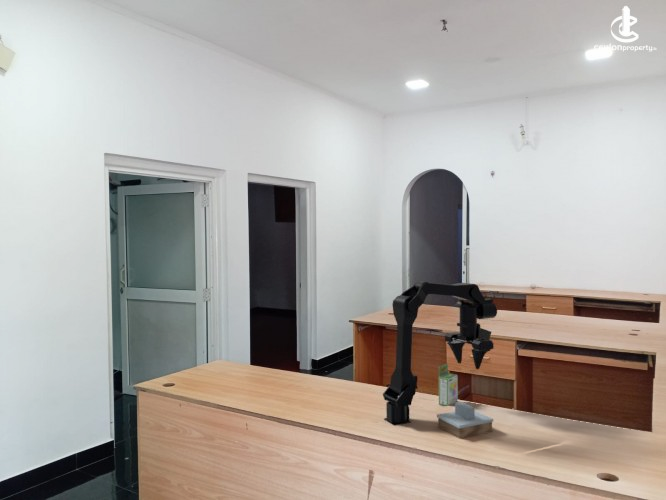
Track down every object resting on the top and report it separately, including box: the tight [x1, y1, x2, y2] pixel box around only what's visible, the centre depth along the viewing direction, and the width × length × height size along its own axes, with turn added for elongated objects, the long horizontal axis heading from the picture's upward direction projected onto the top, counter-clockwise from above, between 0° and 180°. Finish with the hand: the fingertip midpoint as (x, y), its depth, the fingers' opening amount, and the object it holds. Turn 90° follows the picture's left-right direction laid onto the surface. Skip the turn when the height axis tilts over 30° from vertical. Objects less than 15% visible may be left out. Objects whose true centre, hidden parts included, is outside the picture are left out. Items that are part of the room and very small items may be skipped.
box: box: [437, 418, 493, 439], centre depth 155 cm, size 12×10×4 cm
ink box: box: [438, 363, 459, 407], centre depth 182 cm, size 7×4×13 cm, turn 140°
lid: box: [436, 401, 494, 428], centre depth 155 cm, size 13×11×4 cm
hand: (468, 366), depth 175 cm, fingers open, 9 cm apart
